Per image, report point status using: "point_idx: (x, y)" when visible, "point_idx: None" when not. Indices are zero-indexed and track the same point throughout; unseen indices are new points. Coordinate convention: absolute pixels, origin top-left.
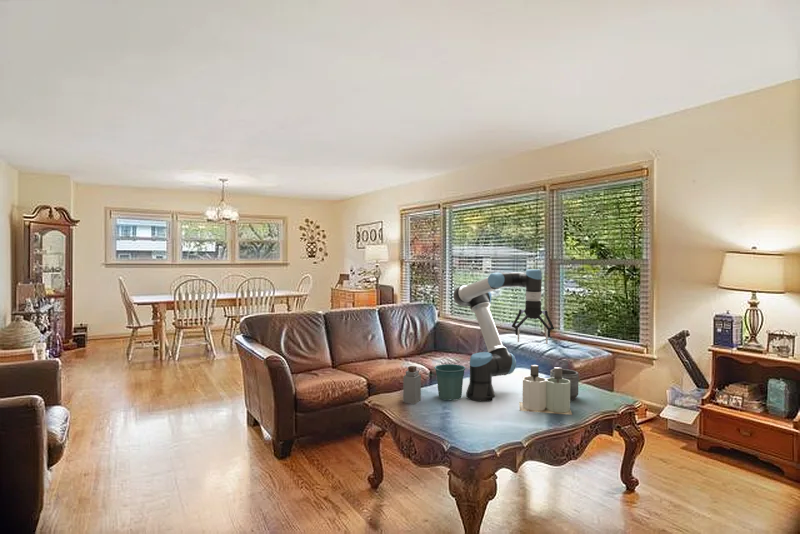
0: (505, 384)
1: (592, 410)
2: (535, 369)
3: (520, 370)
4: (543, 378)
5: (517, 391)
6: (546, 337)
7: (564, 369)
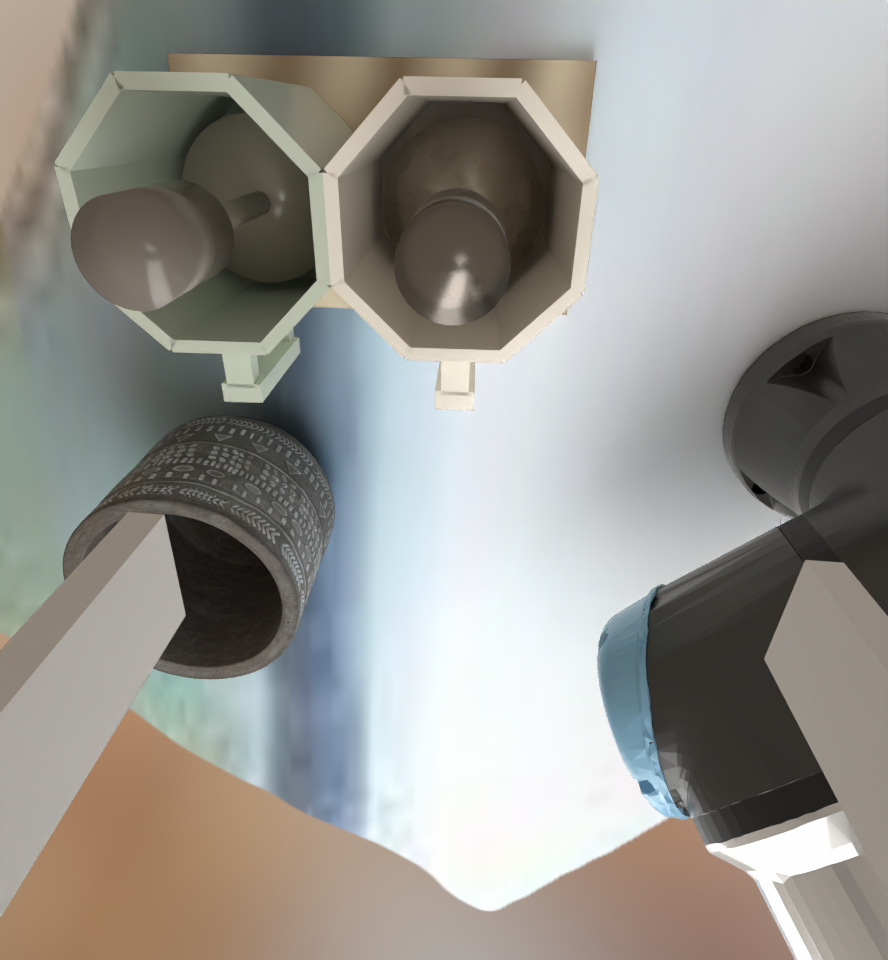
0: (596, 693)
1: (59, 283)
2: (444, 199)
3: (484, 893)
4: (356, 292)
5: (540, 584)
6: (64, 617)
7: (189, 668)
